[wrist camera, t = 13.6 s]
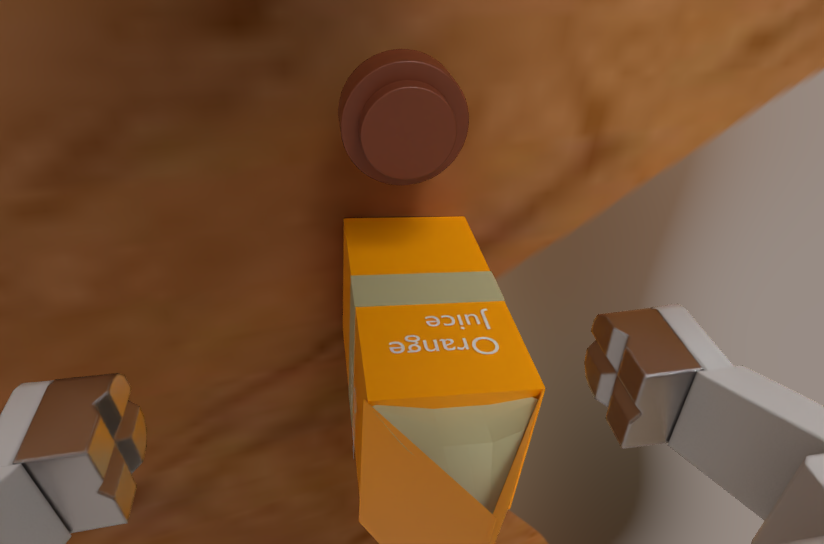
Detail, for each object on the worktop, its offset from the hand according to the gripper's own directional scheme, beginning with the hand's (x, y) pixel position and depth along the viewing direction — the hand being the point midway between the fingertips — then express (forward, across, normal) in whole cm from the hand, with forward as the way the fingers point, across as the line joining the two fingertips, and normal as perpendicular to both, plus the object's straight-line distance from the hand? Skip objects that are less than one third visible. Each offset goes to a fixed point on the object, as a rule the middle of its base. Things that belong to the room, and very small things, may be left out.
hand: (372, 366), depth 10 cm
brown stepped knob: (+23, -3, +3) cm, 23 cm away
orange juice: (+23, -3, +15) cm, 28 cm away
